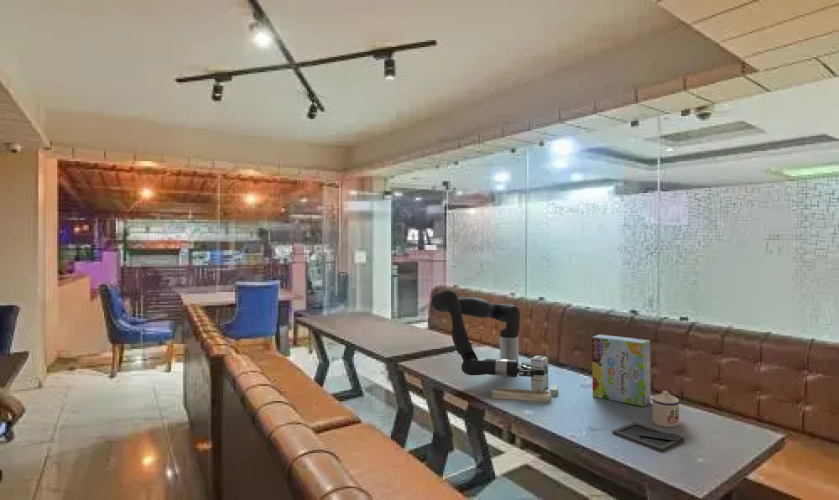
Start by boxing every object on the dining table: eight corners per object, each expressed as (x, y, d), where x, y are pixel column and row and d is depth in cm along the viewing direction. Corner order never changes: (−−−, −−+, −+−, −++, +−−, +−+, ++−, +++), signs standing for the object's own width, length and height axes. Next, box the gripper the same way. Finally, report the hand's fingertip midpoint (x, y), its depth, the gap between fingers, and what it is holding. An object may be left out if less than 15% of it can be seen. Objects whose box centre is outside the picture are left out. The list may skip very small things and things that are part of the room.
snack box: (651, 402, 205) (651, 339, 204) (644, 408, 199) (644, 343, 198) (599, 391, 220) (599, 333, 219) (591, 396, 213) (590, 336, 212)
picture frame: (684, 443, 168) (635, 426, 183) (684, 437, 168) (635, 420, 183) (661, 453, 160) (612, 435, 175) (661, 447, 160) (612, 429, 175)
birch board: (494, 393, 221) (494, 387, 220) (551, 397, 214) (551, 391, 213) (492, 397, 215) (492, 391, 215) (550, 402, 208) (550, 395, 208)
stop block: (550, 390, 223) (550, 384, 223) (557, 390, 222) (557, 385, 222) (550, 395, 216) (550, 389, 216) (557, 395, 215) (557, 390, 215)
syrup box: (543, 393, 216) (543, 359, 216) (530, 390, 220) (530, 357, 220) (548, 389, 221) (548, 356, 221) (535, 387, 225) (535, 355, 224)
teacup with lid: (671, 430, 177) (671, 397, 176) (646, 422, 184) (646, 391, 184) (688, 421, 184) (688, 390, 184) (663, 414, 191) (663, 384, 191)
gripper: (504, 363, 217) (543, 366, 213) (508, 355, 231) (545, 357, 226) (504, 381, 218) (543, 383, 213) (508, 371, 232) (545, 374, 227)
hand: (544, 370), depth 220 cm, fingers open, 7 cm apart
